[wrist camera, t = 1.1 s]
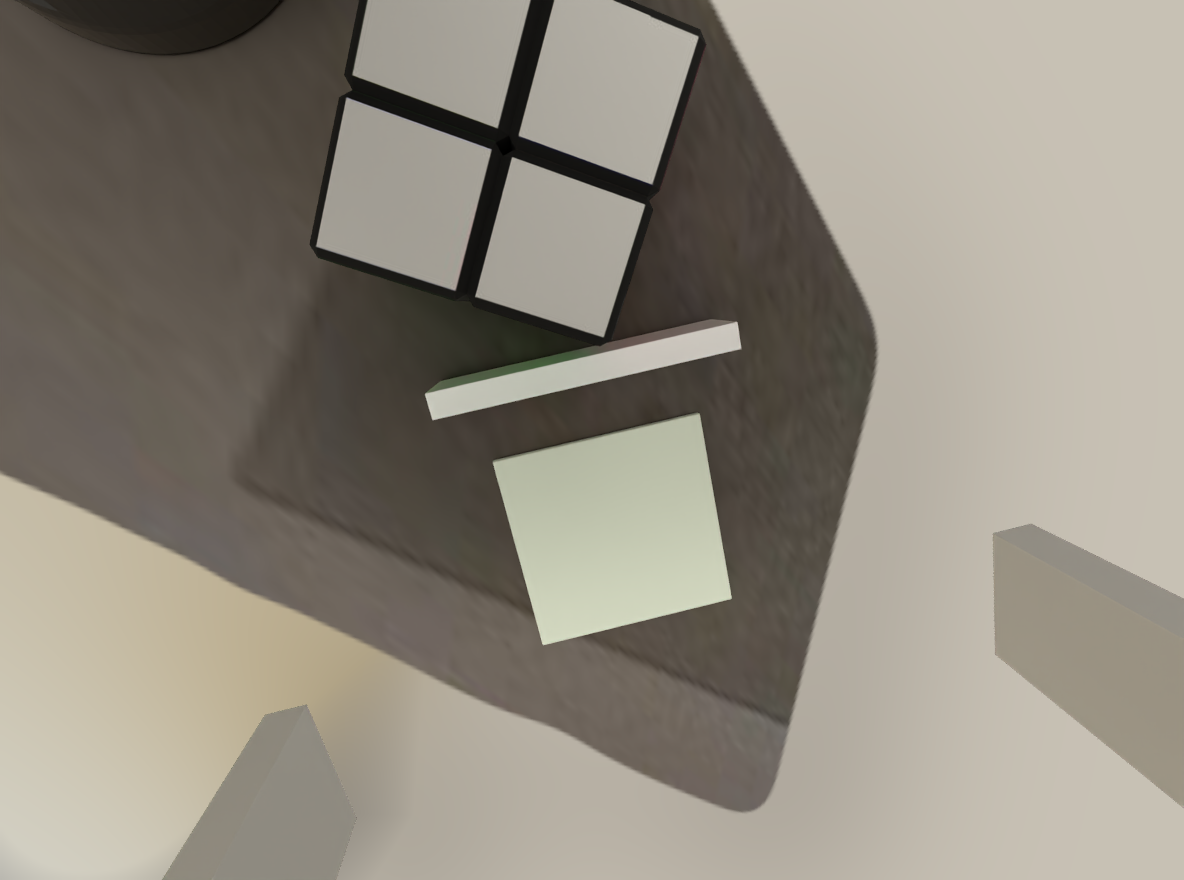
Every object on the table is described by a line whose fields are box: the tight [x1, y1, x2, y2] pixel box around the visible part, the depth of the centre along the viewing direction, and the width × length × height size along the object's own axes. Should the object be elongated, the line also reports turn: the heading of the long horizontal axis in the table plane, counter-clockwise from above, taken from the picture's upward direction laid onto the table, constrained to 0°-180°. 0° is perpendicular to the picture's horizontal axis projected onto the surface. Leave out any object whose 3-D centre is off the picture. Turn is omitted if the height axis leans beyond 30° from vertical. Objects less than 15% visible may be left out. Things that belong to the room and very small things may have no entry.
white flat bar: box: [425, 319, 741, 420], centre depth 27 cm, size 14×1×4 cm, turn 103°
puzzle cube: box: [310, 0, 706, 346], centre depth 22 cm, size 10×10×10 cm
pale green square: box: [493, 412, 732, 645], centre depth 31 cm, size 11×11×1 cm
